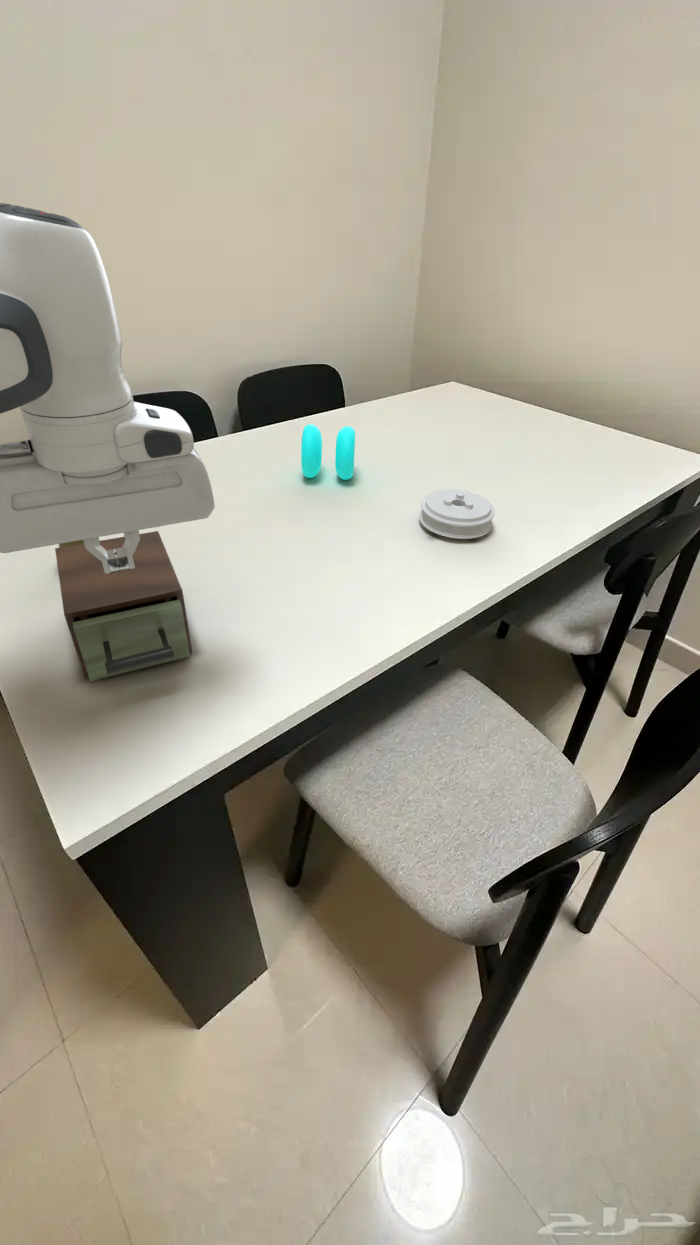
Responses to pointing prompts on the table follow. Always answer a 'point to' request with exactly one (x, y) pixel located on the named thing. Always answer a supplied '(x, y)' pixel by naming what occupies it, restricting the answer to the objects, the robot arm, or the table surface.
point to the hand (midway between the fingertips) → (119, 568)
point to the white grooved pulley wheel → (457, 513)
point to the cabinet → (115, 581)
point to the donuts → (313, 452)
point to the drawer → (132, 637)
